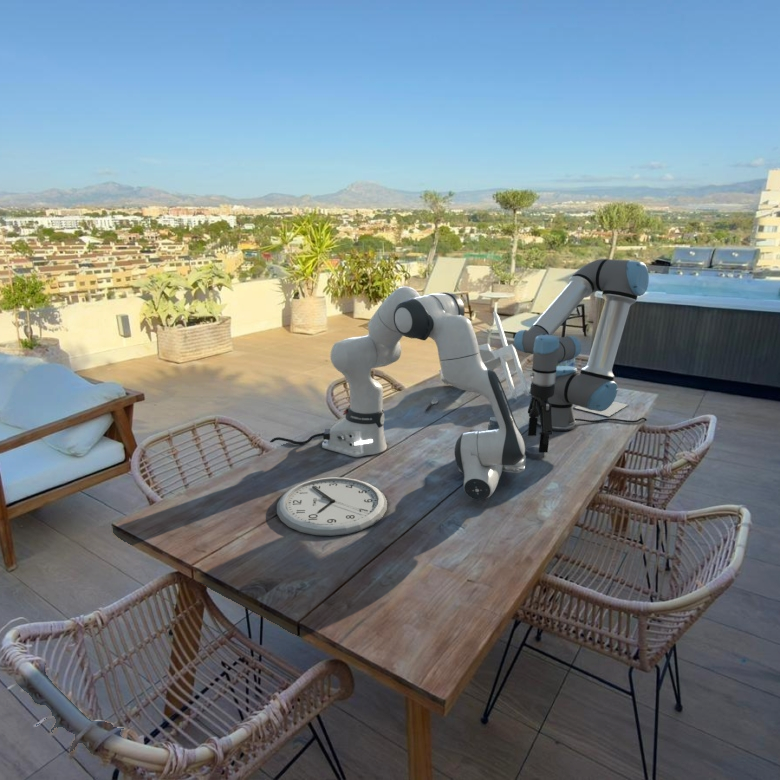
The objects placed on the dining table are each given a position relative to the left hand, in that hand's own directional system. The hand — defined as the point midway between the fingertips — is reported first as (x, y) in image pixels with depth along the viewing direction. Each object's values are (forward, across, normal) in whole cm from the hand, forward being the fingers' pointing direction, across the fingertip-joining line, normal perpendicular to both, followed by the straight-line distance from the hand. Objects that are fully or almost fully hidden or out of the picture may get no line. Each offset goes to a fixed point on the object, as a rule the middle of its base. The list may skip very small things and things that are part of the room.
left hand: (495, 448), depth 165 cm
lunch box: (+96, -12, +7) cm, 97 cm away
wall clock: (-41, +37, +6) cm, 56 cm away
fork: (+49, +35, +6) cm, 61 cm away
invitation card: (+78, -34, +7) cm, 85 cm away
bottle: (-1, 0, +6) cm, 7 cm away
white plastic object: (+77, +20, +6) cm, 80 cm away
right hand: (+15, -12, +2) cm, 19 cm away
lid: (+14, -11, +5) cm, 19 cm away
